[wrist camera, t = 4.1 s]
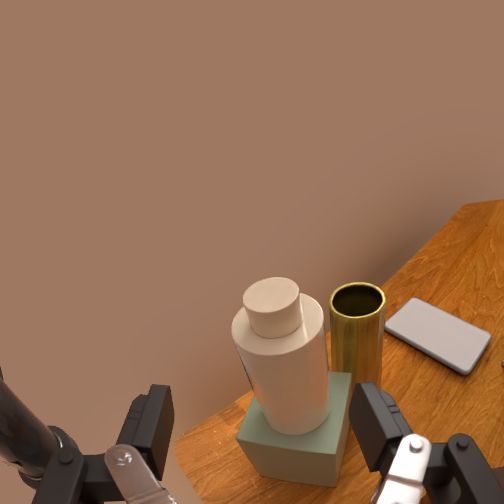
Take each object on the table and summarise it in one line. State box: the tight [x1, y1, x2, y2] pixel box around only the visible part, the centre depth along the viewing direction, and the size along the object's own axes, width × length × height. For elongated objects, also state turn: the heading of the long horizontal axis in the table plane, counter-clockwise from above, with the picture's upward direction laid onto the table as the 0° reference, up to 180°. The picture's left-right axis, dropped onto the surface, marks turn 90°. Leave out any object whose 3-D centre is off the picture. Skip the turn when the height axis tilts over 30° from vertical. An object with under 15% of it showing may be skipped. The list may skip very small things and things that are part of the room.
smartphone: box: [384, 298, 491, 375], centre depth 36 cm, size 8×1×15 cm
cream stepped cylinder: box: [231, 277, 331, 435], centre depth 20 cm, size 6×6×12 cm
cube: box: [236, 372, 352, 487], centre depth 25 cm, size 8×8×10 cm
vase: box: [329, 282, 386, 399], centre depth 30 cm, size 6×6×14 cm
